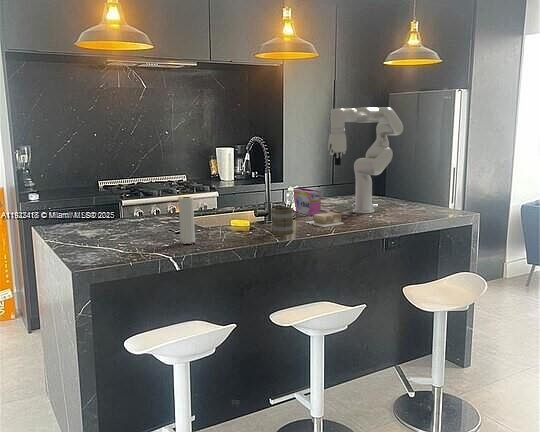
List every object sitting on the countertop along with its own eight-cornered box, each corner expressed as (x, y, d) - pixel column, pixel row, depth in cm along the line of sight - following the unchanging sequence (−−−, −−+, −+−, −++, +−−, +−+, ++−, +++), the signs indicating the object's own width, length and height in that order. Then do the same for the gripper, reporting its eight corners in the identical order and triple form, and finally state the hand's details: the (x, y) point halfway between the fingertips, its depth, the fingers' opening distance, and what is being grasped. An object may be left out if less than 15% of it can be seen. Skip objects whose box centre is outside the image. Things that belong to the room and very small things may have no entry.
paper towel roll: (196, 244, 242) (194, 197, 238) (182, 245, 241) (180, 198, 237) (193, 241, 249) (191, 195, 245) (180, 242, 247) (178, 196, 244)
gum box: (287, 210, 329) (287, 188, 327) (298, 208, 333) (298, 187, 331) (310, 215, 309) (309, 192, 306) (321, 214, 312) (321, 191, 310)
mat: (324, 219, 296) (324, 219, 296) (344, 223, 283) (344, 223, 283) (304, 222, 288) (304, 222, 288) (324, 227, 275) (324, 226, 275)
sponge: (331, 212, 293) (313, 214, 286) (341, 214, 286) (323, 216, 279) (331, 219, 293) (313, 222, 287) (340, 221, 287) (323, 224, 280)
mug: (295, 234, 260) (295, 209, 258) (273, 235, 258) (273, 211, 256) (289, 228, 275) (289, 204, 273) (268, 229, 273) (268, 205, 271)
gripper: (343, 131, 303) (343, 163, 306) (322, 131, 294) (322, 165, 298) (352, 131, 296) (352, 164, 300) (331, 132, 288) (331, 166, 291)
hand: (337, 165), depth 299 cm, fingers closed
